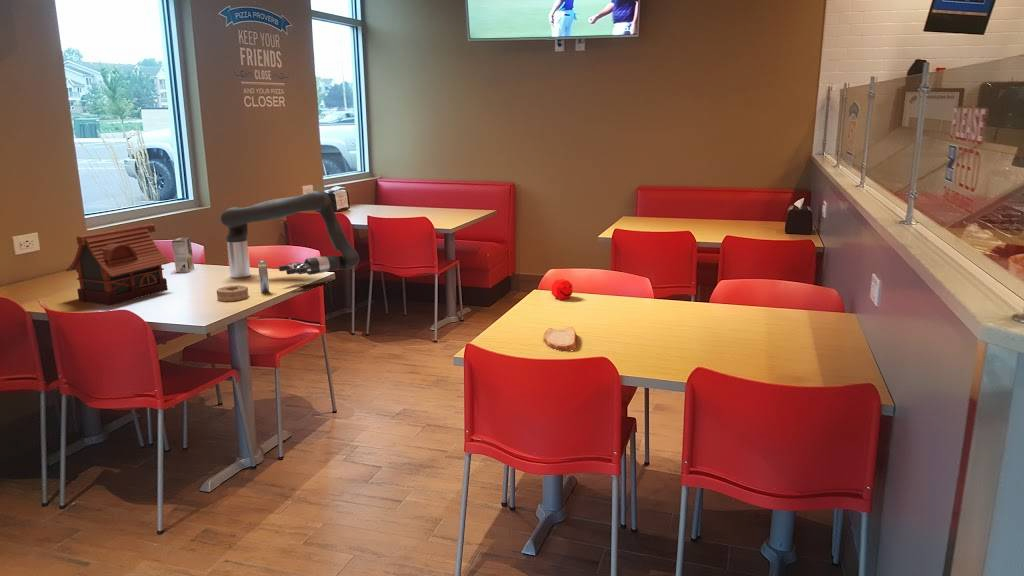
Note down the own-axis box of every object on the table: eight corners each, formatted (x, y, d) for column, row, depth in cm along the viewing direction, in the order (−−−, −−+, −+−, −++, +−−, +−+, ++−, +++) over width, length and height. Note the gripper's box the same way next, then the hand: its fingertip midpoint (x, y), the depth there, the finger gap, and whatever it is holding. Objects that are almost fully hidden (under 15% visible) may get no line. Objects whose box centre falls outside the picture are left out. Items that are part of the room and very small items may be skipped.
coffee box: (181, 268, 369) (177, 237, 365) (194, 268, 370) (190, 237, 366) (175, 272, 360) (171, 240, 356) (188, 272, 361) (185, 240, 357)
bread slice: (568, 354, 237) (568, 343, 236) (526, 343, 248) (526, 332, 248) (600, 341, 250) (600, 330, 249) (558, 331, 261) (558, 321, 261)
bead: (214, 297, 312) (213, 288, 311) (242, 292, 320) (241, 283, 319) (223, 302, 303) (222, 293, 302) (252, 297, 311) (251, 288, 310)
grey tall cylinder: (259, 292, 320) (256, 261, 317) (267, 290, 322) (264, 259, 319) (262, 293, 317) (259, 262, 314) (270, 292, 320) (267, 261, 316)
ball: (559, 301, 299) (559, 283, 297) (548, 297, 306) (548, 279, 304) (575, 298, 303) (575, 281, 301) (564, 294, 310) (564, 277, 308)
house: (112, 308, 298) (102, 238, 290) (67, 301, 309) (55, 234, 302) (182, 288, 328) (174, 225, 321) (138, 283, 340) (129, 221, 333)
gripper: (309, 255, 338) (276, 259, 328) (323, 259, 327) (288, 264, 317) (311, 270, 340) (277, 276, 330) (324, 276, 329) (290, 281, 319)
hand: (282, 270), depth 323 cm, fingers open, 8 cm apart
